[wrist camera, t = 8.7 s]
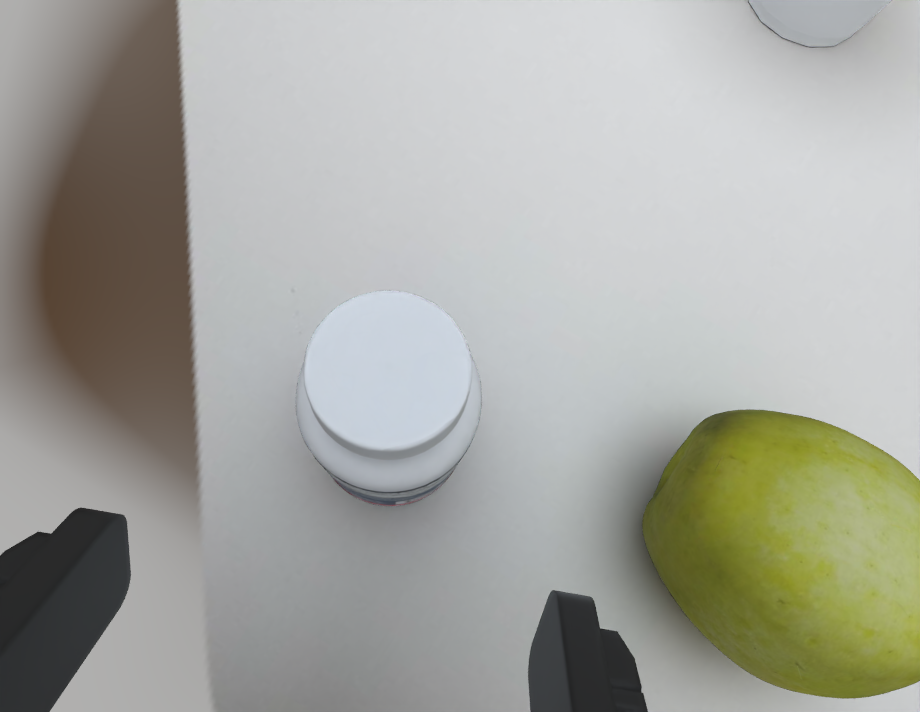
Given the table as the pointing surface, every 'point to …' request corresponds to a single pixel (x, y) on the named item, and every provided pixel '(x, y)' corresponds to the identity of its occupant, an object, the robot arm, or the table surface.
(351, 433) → the pill bottle
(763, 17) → the foam cup
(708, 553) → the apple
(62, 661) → the robot arm
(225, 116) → the table surface
